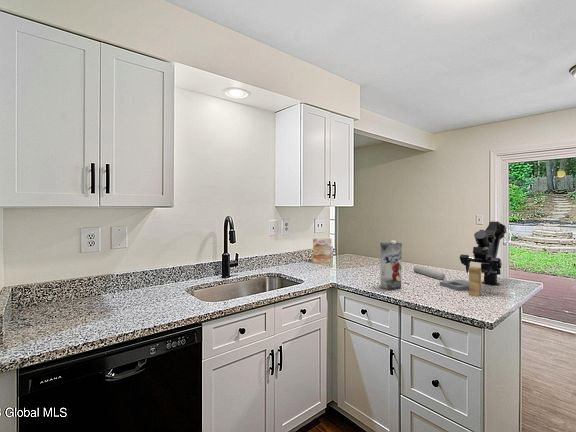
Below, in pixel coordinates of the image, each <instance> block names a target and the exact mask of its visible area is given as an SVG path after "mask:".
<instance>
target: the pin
mask: <svg viewBox="0 0 576 432" xmlns="http://www.w3.org/2000/svg"><path fill="white" fill-rule="evenodd" d="M468 281H469V290H468V295H469V296H475V297H480V296H481V295H482V273H481V267H479V266H477V267H476V266H470V267H469V271H468Z"/></svg>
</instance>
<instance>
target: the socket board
mask: <svg viewBox="0 0 576 432" xmlns="http://www.w3.org/2000/svg"><path fill="white" fill-rule="evenodd" d="M439 286H442V287H444V288H447V289H451V290H453V291H456V292H461V291H469V280H465V279H454V280H441V281H439Z"/></svg>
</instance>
